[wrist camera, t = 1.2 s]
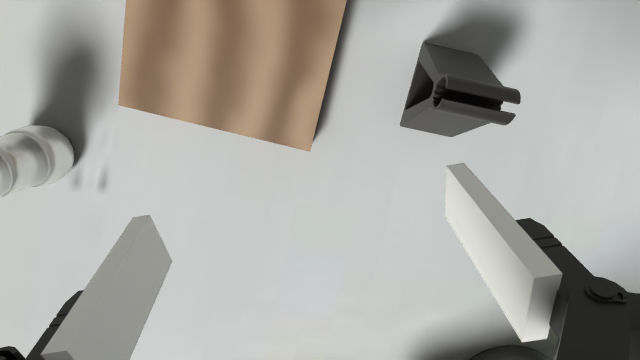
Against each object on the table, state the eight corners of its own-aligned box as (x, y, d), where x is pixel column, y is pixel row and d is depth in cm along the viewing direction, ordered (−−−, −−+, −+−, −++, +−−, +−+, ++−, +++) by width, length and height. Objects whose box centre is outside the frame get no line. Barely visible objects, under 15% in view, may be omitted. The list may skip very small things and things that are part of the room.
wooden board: (352, -28, 36) (356, -39, 33) (311, 143, 42) (310, 151, 38) (154, -82, 35) (133, -100, 31) (137, 101, 41) (118, 105, 37)
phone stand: (449, 136, 41) (497, 163, 30) (399, 125, 41) (427, 148, 29) (476, 55, 39) (540, 50, 27) (422, 42, 38) (463, 32, 27)
